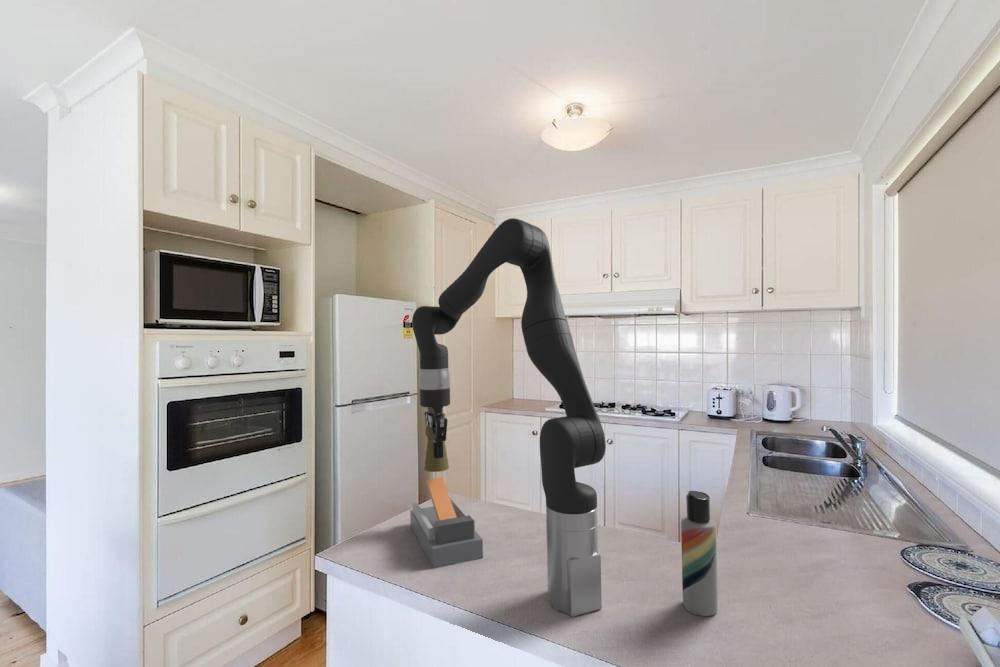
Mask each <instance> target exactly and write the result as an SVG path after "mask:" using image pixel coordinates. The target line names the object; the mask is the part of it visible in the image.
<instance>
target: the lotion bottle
mask: <svg viewBox="0 0 1000 667" xmlns="http://www.w3.org/2000/svg"><path fill="white" fill-rule="evenodd" d="M685 498H686V499H685V500H686V515H685V516H683V517H681V521H680V522H681V523H680V529H681V530H680V532H681V534H680V536H681V537H680V538H681V576H682V578H681V579H682V581H681V582H682V587H681V588H682V604H683V607H684V608H685V610H687V611H688V612H690V613H691V614H695V615H697V616H701V617H710V616H714V615H716V614H717V613H718V610H719V596H718V595H719V594H718V593H719V591H718V590H719V589H718V588H719V586H718V585H719V584H718V543H717V542H718V540H717V524H716V521H714V519H712V518H711V499H710V496H709V494H707V493H706V492H702V491H697V490H689V491H688V493H687V494H686V497H685Z"/></svg>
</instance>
